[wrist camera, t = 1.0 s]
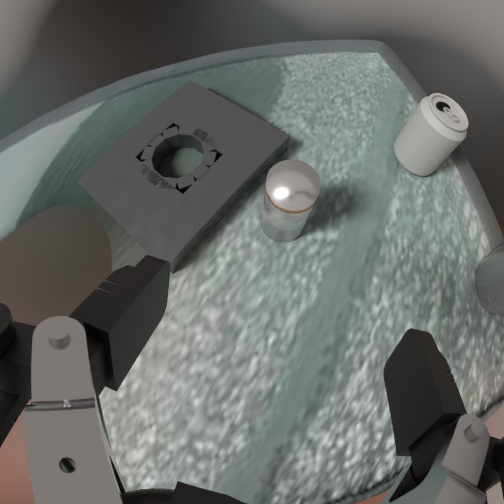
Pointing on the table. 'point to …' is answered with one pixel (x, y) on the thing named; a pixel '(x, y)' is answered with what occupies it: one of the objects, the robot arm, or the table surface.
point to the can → (431, 134)
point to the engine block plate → (189, 186)
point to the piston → (289, 199)
